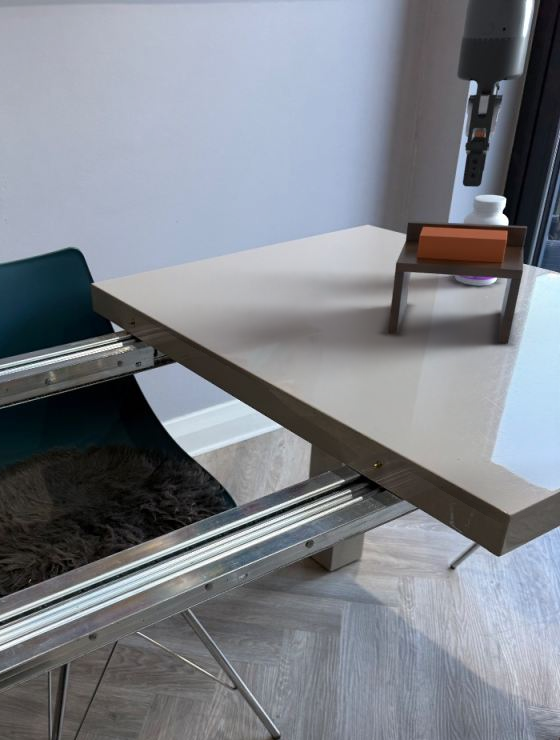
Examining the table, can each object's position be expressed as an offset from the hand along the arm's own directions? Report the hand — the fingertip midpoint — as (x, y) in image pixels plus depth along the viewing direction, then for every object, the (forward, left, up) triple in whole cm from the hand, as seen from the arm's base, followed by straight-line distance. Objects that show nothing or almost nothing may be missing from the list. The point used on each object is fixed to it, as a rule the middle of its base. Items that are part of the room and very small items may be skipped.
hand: (473, 179), depth 102 cm
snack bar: (0, 0, -10) cm, 10 cm away
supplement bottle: (+9, -20, -20) cm, 30 cm away
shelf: (+1, -1, -20) cm, 20 cm away
